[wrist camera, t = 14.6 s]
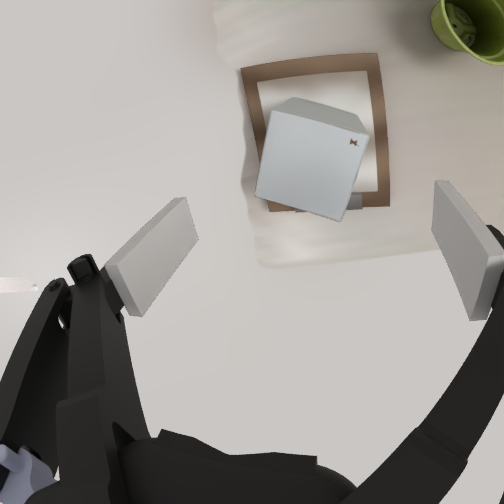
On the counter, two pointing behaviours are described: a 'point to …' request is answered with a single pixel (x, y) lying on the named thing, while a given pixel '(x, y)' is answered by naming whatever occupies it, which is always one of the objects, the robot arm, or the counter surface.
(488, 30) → the plant pot
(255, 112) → the brown square frame
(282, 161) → the supplement box
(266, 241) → the counter surface
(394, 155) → the counter surface
